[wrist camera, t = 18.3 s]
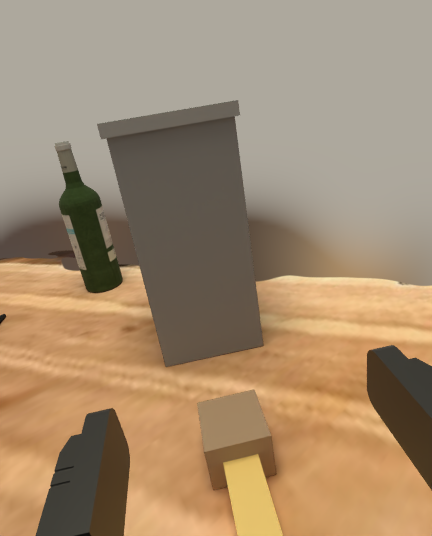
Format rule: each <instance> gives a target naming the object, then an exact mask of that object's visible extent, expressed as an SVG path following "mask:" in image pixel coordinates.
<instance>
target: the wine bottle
mask: <svg viewBox="0 0 432 536" xmlns="http://www.w3.org/2000/svg"><path fill="white" fill-rule="evenodd" d="M55 149H56V151H57V153H58V157H59V161H60V164H61V168H62V171H63V175H64V179H65V182H66V189H65V191H64V193H63V194H62V196H61V198H60V201H59V207H60V210H61V213H62V216H63V219H64V222H65V226H66V228H67V232H68V234H69V237H70V240H71V243H72V247H73V250H74V253H75V256H76V259H77V262H78V265H79V268H80V271H81V274H82V277H83V280H84V283H85V286H86V289H87V290H88V291H89V292H93V293H99V292H104V291H108V290H111V289H113V288H115V287H117V286H118V285H119V284H121V282H122V275H121V271H120V268H119V264H118V261H117V257H116V254H115V250H114V247H113V243H112V240H111V236H110V233H109V229H108V225H107V222H106V218H105V215H104V212H103V208H102V204H101V200H100V197H99V195H98V194H97V193H96V192H95V191H94V190H93V189H91V188H89V187H87V186H86V185H84V183H83V182H82V180H81V177H80V174H79V171H78V168H77V165H76V162H75V159H74V156H73V153H72V150H71V145H70V143H69V142H68V141H66V142H60V143H56V144H55Z"/></svg>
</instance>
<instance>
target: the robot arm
mask: <svg viewBox="0 0 432 536" xmlns="http://www.w3.org/2000/svg"><path fill="white" fill-rule="evenodd" d="M367 391H368V395H369V398H370V401H371V403H372V405H373V407H374V409H375V410H376V411H377V413H378V414H379V416H380V417H381V419H382V420H383V421H384V423H385V424H386V426H387V427H388V429H389V430H390V431H391V433H392V434H393V436H394V437H395V439H396V440H397V441H398V443H399V444H400V446H401V447H402V448H403V450H404V451H405V453H406V454H407V456H408V457H409V458H410V460H411V461H412V463H413V464H414V466H415V467H416V468H417V470H418V471H419V473H420V474H421V476H422V477H423V478H424V480H425V481H426V483H427V484H428V486H429V487H430V488H431V490H432V366H430V365H428V364H426V363H424V362H423V361H421V360H419V359H417V358H412V359H408V358H407V357H406V356H405V355H404V354H403V353H402V352H401V351H400V350H399V349H398V348H397V347H395V346H393V345H391V346H386V347H382V348H377V349H373V350H369V351H368V353H367ZM129 468H130V455H129V448H128V444H127V441H126V438H125V436H124V433H123V430H122V428H121V425H120V422H119V420H118V417H117V415H116V412H115V410H114V409H113V408H111V409H106V410H102V411H98V412H93V413H89V414H87V415H86V418H85V422H84V426H83V430H82V434H79V435H74V436H71V437H70V439H69V440H68V442H67V443H66V445H65V446H64V447H63V449H62V450H61V452H60V454H59V457H58V461H57V464H56V467H55V474H53V478H52V481H51V485H50V486H51V488H50V489H49V492H48V495H47V498H46V502H45V505H44V509H43V512H42V516H41V519H40V522H39V526H38V529H37V533H36V536H124V525H125V514H126V502H127V491H128V479H129Z"/></svg>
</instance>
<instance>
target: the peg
mask: <svg viewBox="0 0 432 536" xmlns="http://www.w3.org/2000/svg"><path fill="white" fill-rule="evenodd" d="M197 406H198V413H199V420H200V427H201V433H202V440H203V447H204V453H205V457H206V461H207V466H208V470H209V474H210V478H211V482H212V487H213V490H217V489H221V488H225V487H228V490H229V495H230V500H231V505H232V510H233V515H234V520H235V525H236V530H237V535H238V536H283V534H282V531H281V527H280V524H279V521H278V518H277V514H276V511H275V508H274V504H273V501H272V498H271V495H270V491H269V488H268V485H267V482H266V478H265V477H268V476H272V475H276V467H275V460H274V453H273V445H272V438H271V434H270V431H269V428H268V425H267V423H266V420H265V417H264V414H263V412H262V409H261V406H260V403H259V401H258V398H257V395H256V392H255V390H250V391H246V392H241V393H237V394H233V395H229V396H224V397H220V398H216V399H212V400H207V401H203V402H199V403H197Z"/></svg>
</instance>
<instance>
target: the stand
mask: <svg viewBox="0 0 432 536" xmlns="http://www.w3.org/2000/svg"><path fill="white" fill-rule="evenodd" d="M238 115H240V112H239V104H238V100H236V101H230V102H224V103H218V104H213V105H207V106H201V107H195V108H190V109H183V110H177V111H172V112H165V113H160V114H154V115H148V116H142V117H136V118H130V119H124V120H118V121H113V122H107V123H101V124H97V126H98V130H99V133H100V137H101V139H105V138H107V142H108V146H109V150H110V154H111V158H112V161H113V165H114V169H115V173H116V176H117V181H118V185H119V188H120V192H121V196H122V200H123V204H124V208H125V212H126V215H127V219H128V223H129V226H130V231H131V235H132V239H133V242H134V246H135V250H136V254H137V258H138V262H139V266H140V269H141V273H142V277H143V281H144V285H145V289H146V293H147V296H148V300H149V304H150V308H151V312H152V316H153V319H154V323H155V327H156V331H157V335H158V339H159V343H160V346H161V350H162V354H163V358H164V362H165V366H166V367H168V366H172V365H177V364H181V363H186V362H191V361H195V360H200V359H205V358H209V357H214V356H218V355H223V354H228V353H232V352H237V351H242V350H246V349H251V348H256V347H260V346H263V339H262V331H261V323H260V315H259V307H258V299H257V291H256V283H255V275H254V268H253V259H252V251H251V243H250V236H249V227H248V219H247V211H246V203H245V196H244V187H243V180H242V171H241V164H240V156H239V148H238V140H237V132H236V124H235V116H238Z"/></svg>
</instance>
